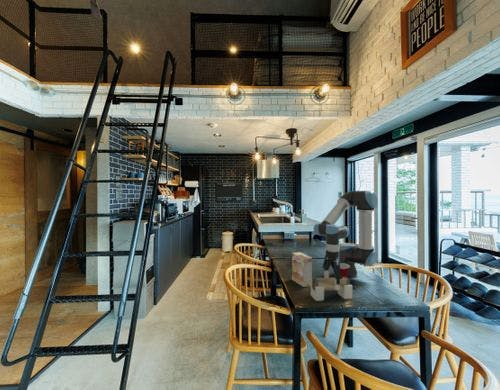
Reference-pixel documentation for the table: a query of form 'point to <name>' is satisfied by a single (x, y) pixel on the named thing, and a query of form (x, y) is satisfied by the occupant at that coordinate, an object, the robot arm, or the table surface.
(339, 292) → the foot post
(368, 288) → the table surface
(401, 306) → the table surface
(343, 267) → the plastic cup
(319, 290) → the head post
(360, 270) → the table surface
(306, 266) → the coffeecake box
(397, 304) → the table surface
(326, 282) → the rail
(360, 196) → the robot arm
